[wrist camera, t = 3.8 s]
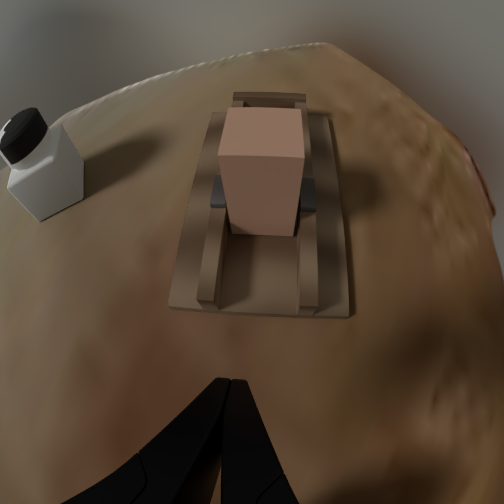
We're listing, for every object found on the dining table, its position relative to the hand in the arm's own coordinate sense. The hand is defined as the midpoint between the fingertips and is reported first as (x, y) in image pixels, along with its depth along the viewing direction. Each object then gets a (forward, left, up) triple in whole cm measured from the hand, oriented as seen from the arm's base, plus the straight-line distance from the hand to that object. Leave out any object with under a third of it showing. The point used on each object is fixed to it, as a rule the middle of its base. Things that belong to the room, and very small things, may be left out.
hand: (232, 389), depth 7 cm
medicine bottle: (+27, +15, -14) cm, 34 cm away
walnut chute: (+16, -7, -14) cm, 22 cm away
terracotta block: (+13, -6, -12) cm, 19 cm away
